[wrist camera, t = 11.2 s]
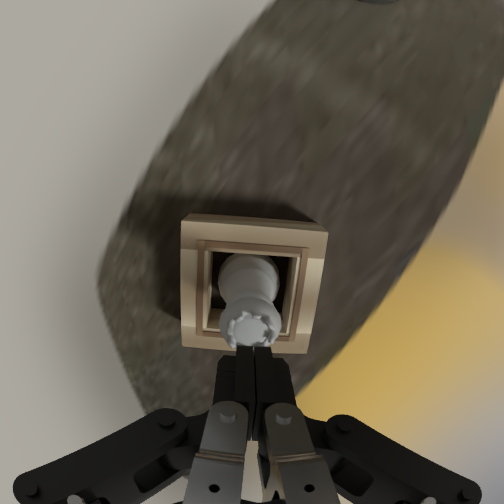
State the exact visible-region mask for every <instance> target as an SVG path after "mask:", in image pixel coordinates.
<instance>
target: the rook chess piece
mask: <svg viewBox="0 0 504 504" xmlns="http://www.w3.org/2000/svg"><path fill="white" fill-rule="evenodd" d="M218 286H219V291H220V295H221V296H222V298H223V299H224V301H225V302H226V303H227V304H226V308H225V310H224V311H223V312H222V313H221V316H220V320H219V328H220V333H221V335H222V336H223V338H224V339H225V340H226V342H227V344H228V345H229V346H230V348H231V349H233V348H234V347H235V348H236V346H237V345H247V346H253V350H254V346H268V345H271V344H273V343H274V341H275V339H276V338H277V337H278V335H279V332H280V330H281V327H282V326H281V317H280V315H279V313H278V312H277V310H276V308H275V307H274V304H273V303H272V302H273V301H274V299H275V298H276V296H277V293H278V290H279V287H280V279H279V271H278V268H277V267H276V265H275V263H274V262H273V260H272V259H271V258H269V257H268V256H267V255H258V254H245V253H235V254H233V255H231V256H229V257H228V258H227V259H226V260H225V262H224V263H223V264H222V266H221V267H220V271H219V276H218Z"/></svg>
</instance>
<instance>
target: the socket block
mask: <svg viewBox="0 0 504 504" xmlns="http://www.w3.org/2000/svg"><path fill="white" fill-rule="evenodd" d="M327 238H328V232H327V231H326V230H325V229H324V228H323V227H322V226H320V225H319V224H318V223H313V222H303V221H292V220H280V219H268V218H256V217H243V216H229V215H214V214H198V213H190V214H189V215H187V216H186V217H185V218H184V219H183V220H182V221H181V265H180V277H181V329H182V346H187V347H196V348H207V349H218V350H231V351H236V348H235V347H234V348H233V349H231V348H230V346H229V345H228V344H227V342H226V340H225V339H224V338H223V336H222V335H221V333H220V328H219V320H220V316H221V313H222V312H223V311H224V310H225V309H217V308H211V292H212V264H213V251H217V252H231V253H245V254H258V255H272V256H286V257H289V262H288V270H287V278H286V286H285V293H284V300H283V308H282V313H279V315H280V317H281V326H282V327H281V330H280V332H279V335H278V337H277V338H276V339H275V341H274V343H273V344H271V345H268V347H271V350H272V353H304V354H307V350H308V345H309V340H310V335H311V330H312V326H313V320H314V315H315V310H316V305H317V299H318V294H319V288H320V283H321V277H322V271H323V265H324V258H325V252H326V245H327ZM253 351H254V350H253Z"/></svg>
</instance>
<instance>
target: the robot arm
mask: <svg viewBox="0 0 504 504" xmlns="http://www.w3.org/2000/svg"><path fill="white" fill-rule="evenodd" d="M361 1H365V2H370V3H377V4H386V3H392V2H395V1H398V0H361ZM251 432H252V440H253V441H258V446H259V449H258V454H257V459H258V465H259V472H260V479H261V485H262V493H263V501H262V503H256V502H251V501H247V500H242V499H241V490H242V481H243V470H244V461H245V452H246V447H247V441H250V439H251ZM190 469H191V472H190V476H189V480H188V484H187V488H186V492H185V496H184V500H183V501H181V502H177V503H174V504H340V501H339V498H338V495H337V493H338V494H340V495H341V496H343V497H344V498H346V499H347V500H349V501H350V502H352V503H353V504H479V503H480V501H481V497H482V493H481V489H480V487H479V485H478V484H477V483H475V482H474V481H472V480H470V479H467V478H465V477H463V476H461V475H459V474H456V473H454V472H452V471H450V470H448V469H446V468H444V467H442V466H440V465H438V464H436V463H434V462H432V461H430V460H428V459H426V458H424V457H422V456H420V455H418V454H417V453H415V452H413V451H411V450H409V449H407V448H405V447H404V446H402V445H400V444H398V443H397V442H395V441H393V440H391V439H390V438H388V437H386V436H384V435H382V434H381V433H379V432H377V431H375V430H374V429H372V428H371V427H369V426H367V425H366V424H364V423H362V422H361V421H359V420H357V419H356V418H354V417H352V416H349V415H335V416H333V417H331V418H330V419H328V421H327V422H325V421H319V420H314V419H311V418H308V417H306V416H305V415H303V413H302V412H301V410H300V409H299V408H298V407H297V405H296V400H295V395H294V390H293V385H292V382H291V375H290V370H289V365H288V364H287V363H286V362H285V361H284V359H283V358H273V357H272V350H271V347H268V346H254V351H253V346H247V345H237V346H236V356H229V355H224V356H223V357H222V358H221V359H220V360H219V361H218V367H217V374H216V382H215V390H214V398H213V404H212V406H211V408H210V409H209V410H208V411H207V412H205V413H203V414H201V415H197V416H191V417H185V416H184V415H183V414H182V413H181V412H179V411H177V410H174V409H170V408H162V409H158V410H155V411H153V412H151V413H150V414H148V415H146V416H144V417H143V418H141V419H139V420H137V421H135V422H133V423H131V424H130V425H128V426H126V427H124V428H122V429H120V430H118V431H116V432H114V433H112V434H111V435H108V436H106V437H104V438H103V439H100V440H99V441H96V442H95V443H92V444H90V445H88V446H86V447H84V448H82V449H80V450H77V451H75V452H73V453H71V454H69V455H66V456H64V457H62V458H60V459H57V460H55V461H53V462H50V463H48V464H46V465H43V466H41V467H38V468H36V469H33V470H31V471H28V472H25V473H23V474H21V475H19V476H18V477H17V478H16V479H15V481H14V483H13V493H14V496H15V497H16V499H17V501H18V502H19V503H20V504H140V503H142V502H143V501H145V500H147V499H148V498H150V497H151V496H153V495H154V494H156V493H158V492H159V491H161V490H162V489H164V488H165V487H167V486H168V485H170V484H171V483H173V482H174V481H176V480H177V479H178V478H180V477H181V476H183V475H184V474H186V473H187V472H188V471H189V470H190Z"/></svg>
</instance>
